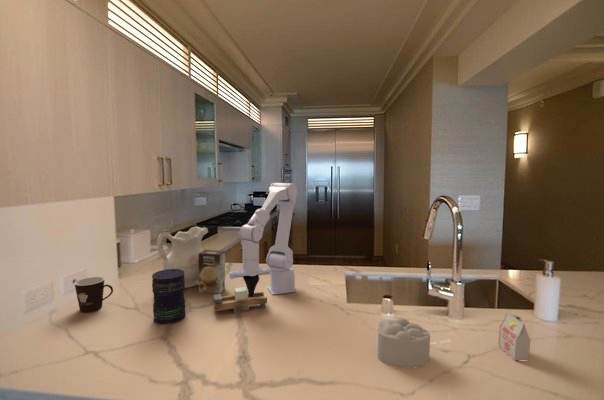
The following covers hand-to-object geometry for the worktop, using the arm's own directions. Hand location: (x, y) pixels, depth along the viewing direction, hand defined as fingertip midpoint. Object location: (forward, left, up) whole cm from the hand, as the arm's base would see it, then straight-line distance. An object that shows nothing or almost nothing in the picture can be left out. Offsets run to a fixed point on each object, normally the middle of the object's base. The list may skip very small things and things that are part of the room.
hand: (250, 295), depth 111 cm
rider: (+3, 0, -1) cm, 4 cm away
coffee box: (+12, -21, -4) cm, 24 cm away
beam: (+4, 0, -4) cm, 6 cm away
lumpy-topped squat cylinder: (-32, +43, -4) cm, 54 cm away
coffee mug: (+52, -16, -4) cm, 54 cm away
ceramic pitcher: (+22, -32, -4) cm, 39 cm away
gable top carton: (-61, +52, -4) cm, 80 cm away
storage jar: (+27, -1, -4) cm, 27 cm away
